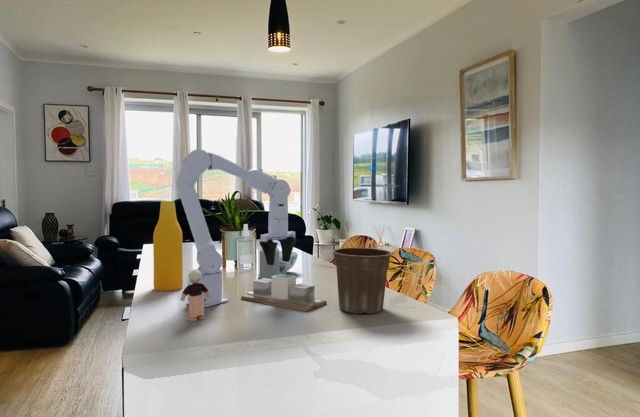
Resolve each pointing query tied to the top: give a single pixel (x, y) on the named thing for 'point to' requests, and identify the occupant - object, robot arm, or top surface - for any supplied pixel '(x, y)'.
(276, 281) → the block
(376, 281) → the plant pot
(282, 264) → the chinaware
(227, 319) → the top surface
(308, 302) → the board
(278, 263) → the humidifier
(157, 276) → the beer bottle
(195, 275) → the grandmother figurine
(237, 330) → the top surface
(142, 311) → the top surface
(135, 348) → the top surface
